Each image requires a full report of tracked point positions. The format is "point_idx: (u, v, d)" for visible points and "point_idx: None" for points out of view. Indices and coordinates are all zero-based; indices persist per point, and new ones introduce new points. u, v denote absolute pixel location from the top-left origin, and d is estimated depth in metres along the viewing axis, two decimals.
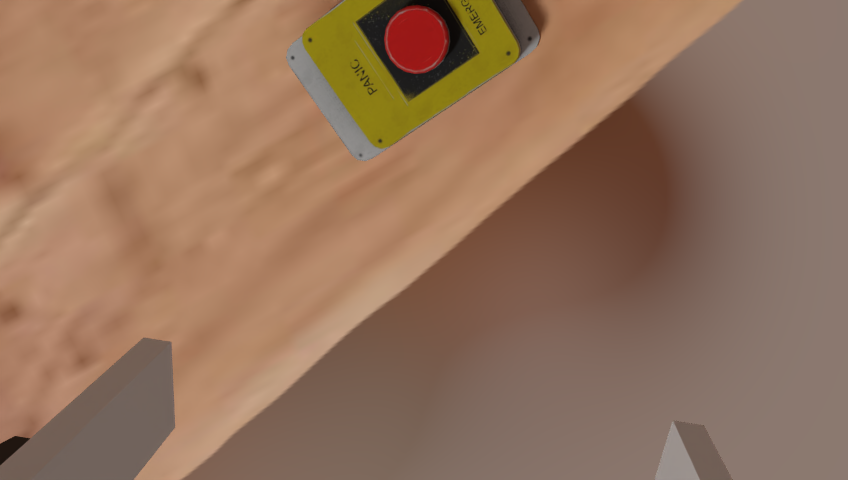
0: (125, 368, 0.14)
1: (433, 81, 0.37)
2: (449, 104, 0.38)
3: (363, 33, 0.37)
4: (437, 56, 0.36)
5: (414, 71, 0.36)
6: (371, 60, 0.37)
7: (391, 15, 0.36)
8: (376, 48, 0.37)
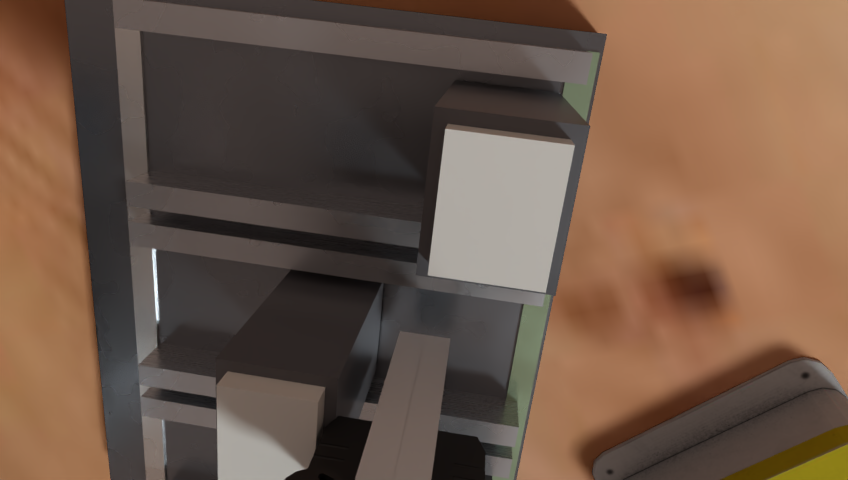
0: (404, 357, 0.16)
1: None
2: None
3: None
4: None
5: None
6: None
7: None
8: None
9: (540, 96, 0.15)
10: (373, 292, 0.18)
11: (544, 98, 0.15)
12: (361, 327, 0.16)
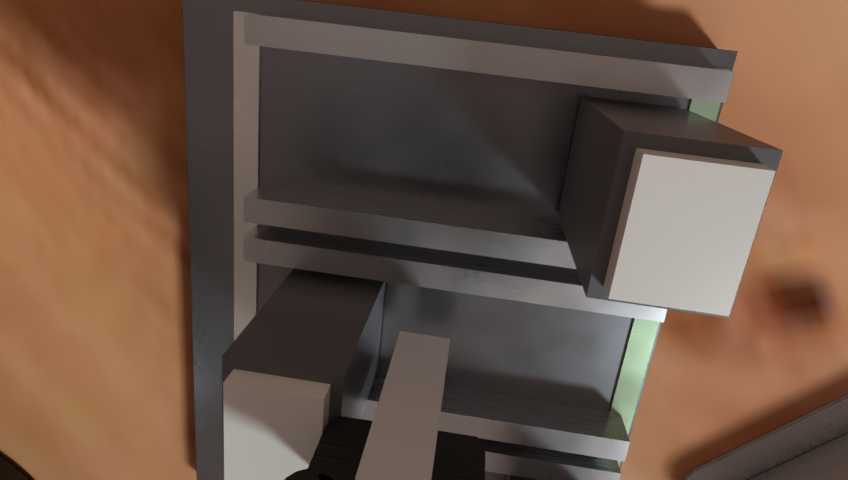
0: (404, 357, 0.16)
1: None
2: None
3: None
4: None
5: None
6: None
7: None
8: None
9: (680, 114, 0.15)
10: (375, 291, 0.19)
11: (688, 117, 0.15)
12: (364, 325, 0.17)
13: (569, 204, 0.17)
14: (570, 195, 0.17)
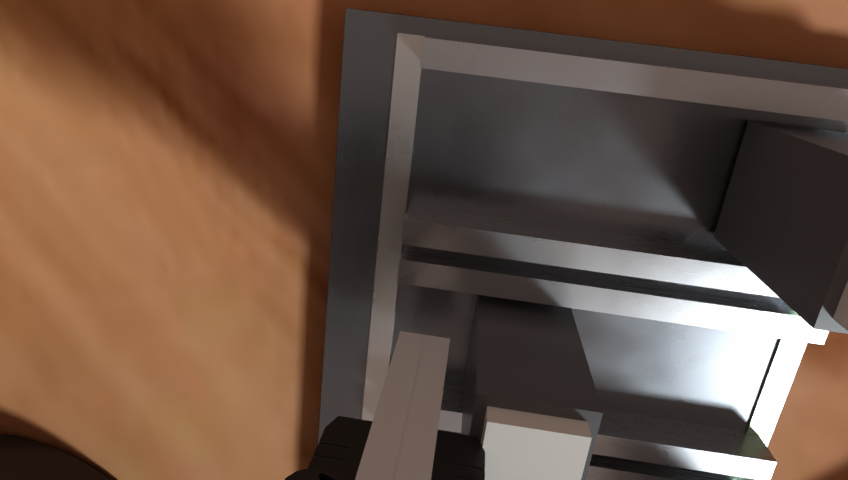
0: (404, 357, 0.16)
1: None
2: None
3: None
4: None
5: None
6: None
7: None
8: None
9: None
10: (571, 319, 0.18)
11: None
12: (585, 357, 0.16)
13: (743, 228, 0.17)
14: (743, 219, 0.17)
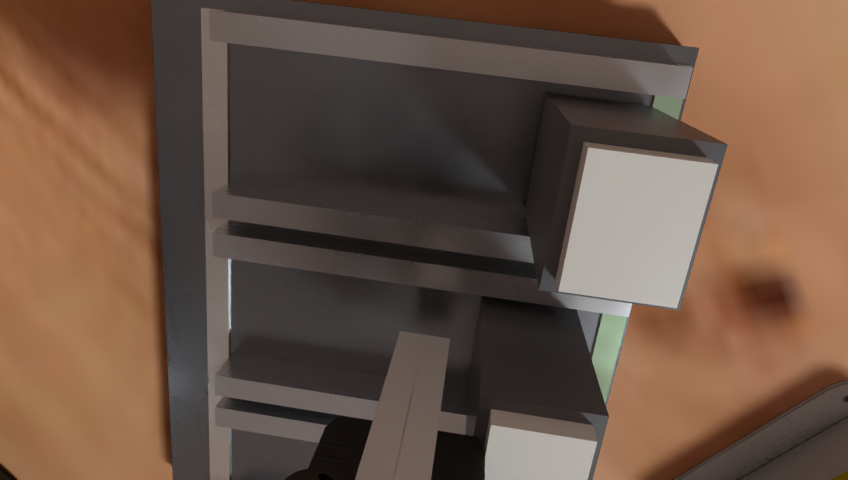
0: (404, 357, 0.16)
1: None
2: None
3: None
4: None
5: None
6: None
7: None
8: None
9: (639, 110, 0.16)
10: (577, 321, 0.18)
11: (646, 112, 0.15)
12: (590, 359, 0.16)
13: (532, 199, 0.17)
14: (533, 190, 0.17)
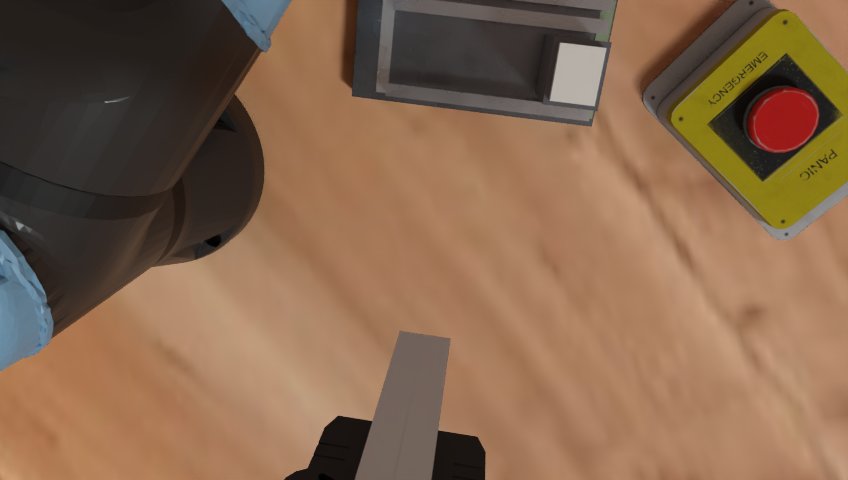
0: (404, 357, 0.16)
1: (820, 93, 0.36)
2: (844, 70, 0.35)
3: (773, 172, 0.38)
4: (801, 96, 0.35)
5: (818, 116, 0.35)
6: (800, 160, 0.37)
7: (754, 149, 0.37)
8: (787, 157, 0.37)
9: None
10: None
11: None
12: None
13: None
14: None
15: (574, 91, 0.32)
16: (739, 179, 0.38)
